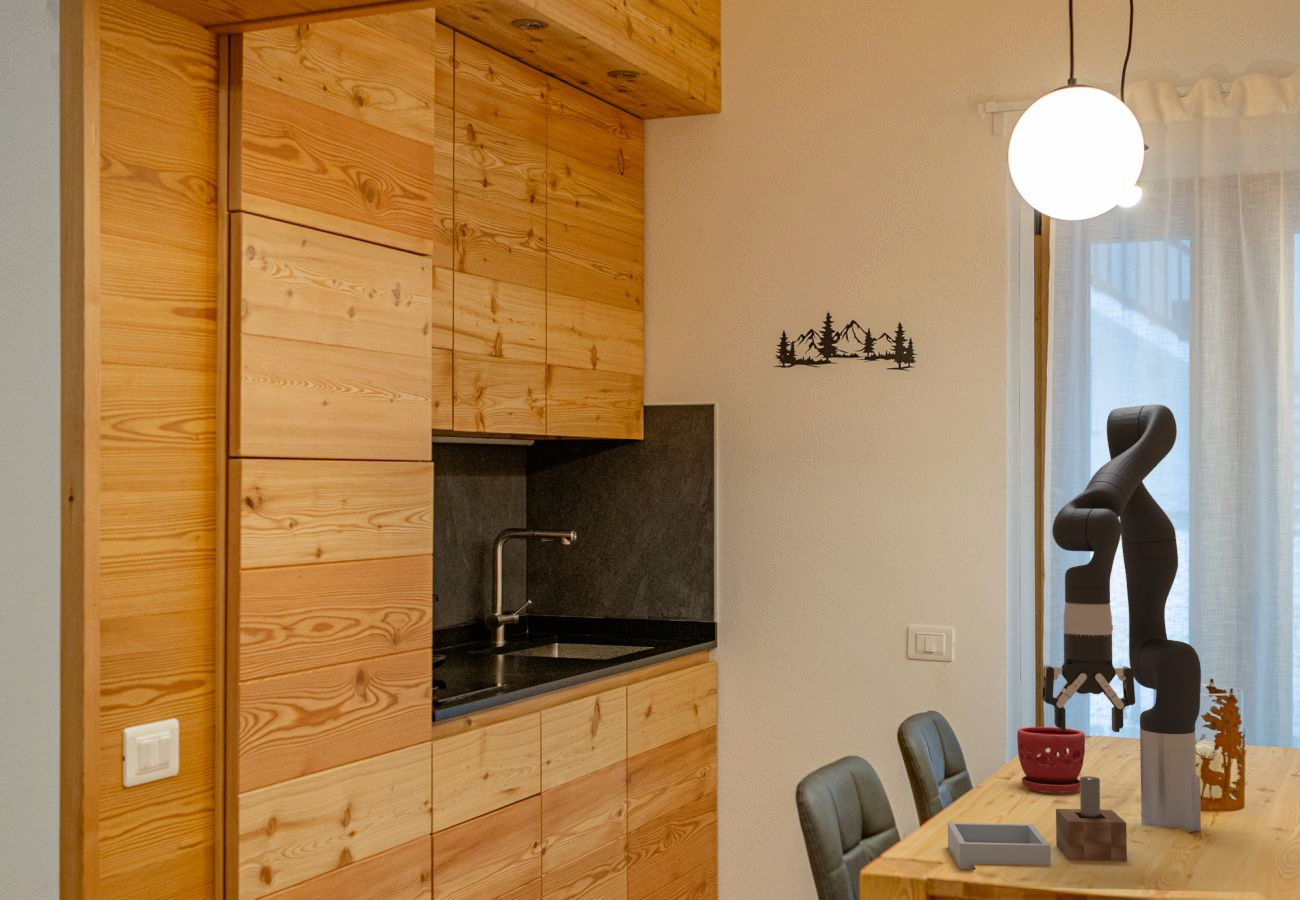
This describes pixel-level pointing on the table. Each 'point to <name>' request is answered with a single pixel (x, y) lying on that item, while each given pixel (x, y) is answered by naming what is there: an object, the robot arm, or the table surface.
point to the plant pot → (1051, 758)
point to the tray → (997, 844)
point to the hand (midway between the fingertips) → (1088, 731)
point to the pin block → (1091, 836)
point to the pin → (1090, 797)
